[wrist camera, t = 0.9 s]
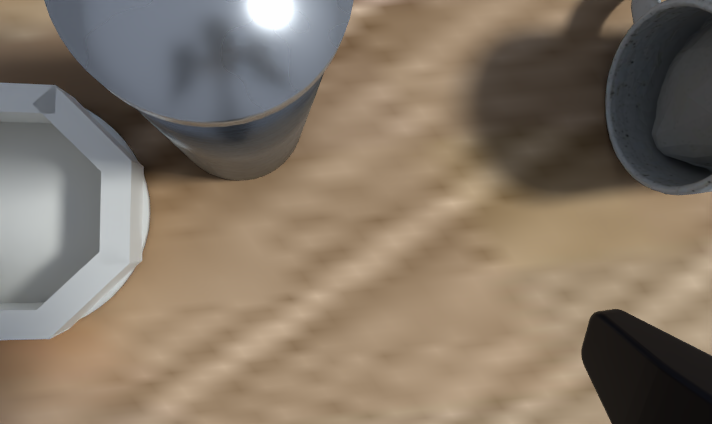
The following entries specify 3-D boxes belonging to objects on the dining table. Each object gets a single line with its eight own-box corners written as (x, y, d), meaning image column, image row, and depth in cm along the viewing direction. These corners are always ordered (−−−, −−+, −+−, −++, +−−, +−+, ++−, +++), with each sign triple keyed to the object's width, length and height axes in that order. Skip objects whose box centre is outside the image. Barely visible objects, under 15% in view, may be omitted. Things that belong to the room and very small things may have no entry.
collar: (148, 330, 22) (133, 342, 19) (-114, 336, 20) (-165, 350, 18) (152, 98, 22) (138, 83, 20) (-106, 88, 20) (-154, 69, 18)
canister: (304, 184, 23) (353, 126, 10) (169, 181, 22) (34, 114, 9) (305, 55, 23) (356, -163, 10) (171, 48, 22) (42, -201, 9)
